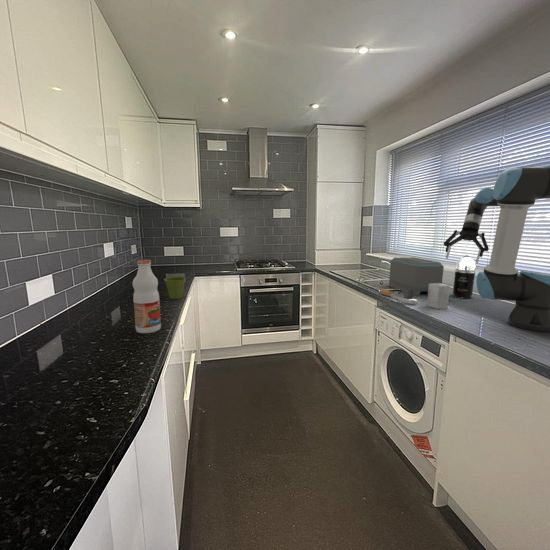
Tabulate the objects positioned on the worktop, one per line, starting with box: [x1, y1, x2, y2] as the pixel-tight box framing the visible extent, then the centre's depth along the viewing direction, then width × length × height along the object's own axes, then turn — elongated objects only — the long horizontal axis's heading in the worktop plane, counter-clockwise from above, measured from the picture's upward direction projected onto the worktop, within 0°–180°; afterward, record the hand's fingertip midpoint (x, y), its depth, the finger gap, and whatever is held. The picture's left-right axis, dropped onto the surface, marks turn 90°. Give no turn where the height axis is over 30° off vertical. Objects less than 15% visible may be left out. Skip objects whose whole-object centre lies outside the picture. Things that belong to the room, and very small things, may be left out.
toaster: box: [388, 256, 444, 297], centre depth 192 cm, size 19×33×20 cm, turn 8°
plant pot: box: [163, 276, 187, 300], centre depth 167 cm, size 12×12×11 cm
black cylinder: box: [452, 254, 477, 299], centre depth 175 cm, size 10×10×25 cm
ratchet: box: [380, 289, 419, 306], centre depth 169 cm, size 27×10×8 cm, turn 15°
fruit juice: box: [132, 259, 162, 334], centre depth 115 cm, size 9×9×28 cm
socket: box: [426, 283, 451, 310], centre depth 153 cm, size 7×7×12 cm
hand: (461, 259), depth 154 cm, fingers open, 13 cm apart
